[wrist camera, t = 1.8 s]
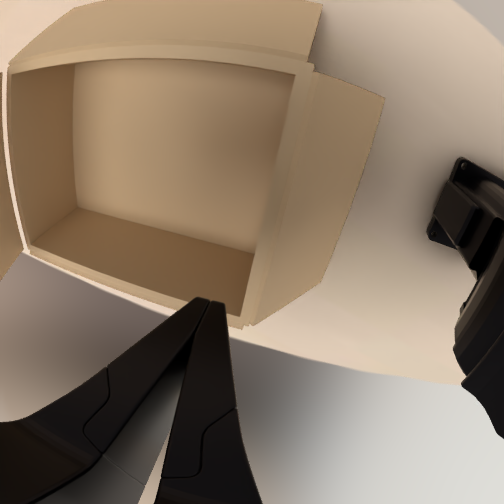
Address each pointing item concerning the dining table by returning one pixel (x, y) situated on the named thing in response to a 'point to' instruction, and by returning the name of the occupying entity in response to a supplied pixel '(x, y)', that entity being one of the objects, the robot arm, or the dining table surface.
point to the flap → (6, 212)
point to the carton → (186, 150)
